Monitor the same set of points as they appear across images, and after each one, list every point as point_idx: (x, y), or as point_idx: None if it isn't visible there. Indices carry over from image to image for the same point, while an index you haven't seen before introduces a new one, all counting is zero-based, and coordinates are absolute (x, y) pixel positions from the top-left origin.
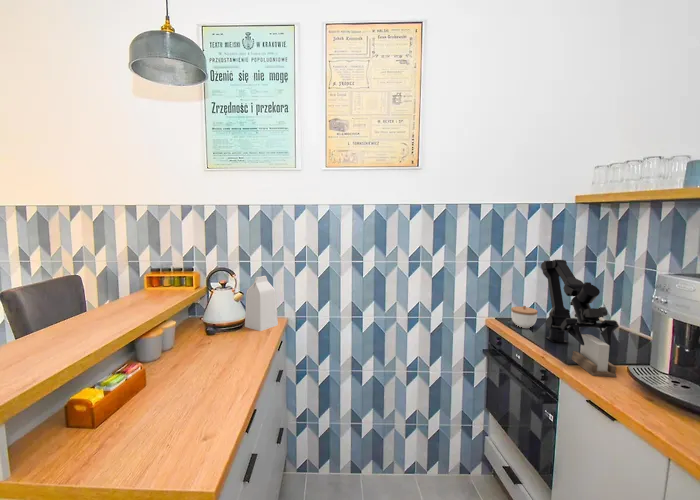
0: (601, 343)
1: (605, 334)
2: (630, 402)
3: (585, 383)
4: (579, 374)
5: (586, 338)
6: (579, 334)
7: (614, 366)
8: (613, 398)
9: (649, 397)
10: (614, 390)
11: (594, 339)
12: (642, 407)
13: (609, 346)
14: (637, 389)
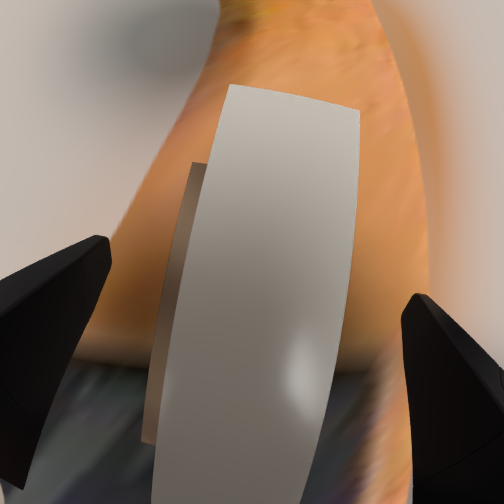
0: (288, 149)
1: (5, 384)
2: (326, 23)
3: (410, 140)
4: (390, 227)
5: (311, 438)
6: (499, 378)
7: (201, 166)
8: (366, 45)
9: (226, 33)
10: (325, 76)
11: (265, 336)
12: (309, 5)
13: (106, 250)
14: (213, 74)
